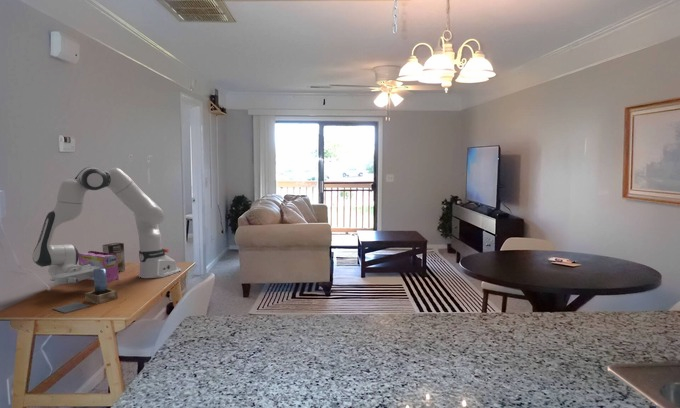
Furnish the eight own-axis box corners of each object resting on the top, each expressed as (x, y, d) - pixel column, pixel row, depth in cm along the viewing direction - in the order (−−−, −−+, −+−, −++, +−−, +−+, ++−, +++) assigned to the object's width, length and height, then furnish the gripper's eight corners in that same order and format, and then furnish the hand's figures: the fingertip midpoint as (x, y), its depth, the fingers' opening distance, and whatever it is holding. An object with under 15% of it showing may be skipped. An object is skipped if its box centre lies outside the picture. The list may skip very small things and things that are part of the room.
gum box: (77, 277, 237) (75, 253, 236) (91, 274, 244) (90, 250, 243) (105, 283, 226) (103, 257, 225) (119, 279, 233) (117, 254, 231)
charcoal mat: (77, 302, 194) (77, 301, 194) (89, 306, 189) (89, 305, 189) (53, 309, 186) (52, 308, 185) (65, 313, 180) (65, 312, 180)
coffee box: (110, 274, 243) (108, 245, 241) (103, 273, 246) (101, 245, 244) (125, 270, 251) (123, 243, 249) (118, 269, 254) (116, 242, 252)
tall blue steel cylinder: (104, 297, 201) (102, 267, 200) (110, 298, 199) (108, 268, 197) (93, 300, 197) (90, 269, 196) (99, 302, 195) (97, 271, 193)
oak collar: (106, 295, 204) (105, 287, 204) (117, 298, 199) (117, 290, 199) (85, 300, 197) (85, 293, 196) (97, 304, 192) (96, 296, 191)
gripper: (47, 272, 202) (62, 276, 194) (92, 263, 219) (107, 266, 211) (48, 286, 202) (63, 290, 195) (93, 275, 219) (108, 279, 212)
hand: (86, 277), depth 203 cm, fingers open, 8 cm apart
